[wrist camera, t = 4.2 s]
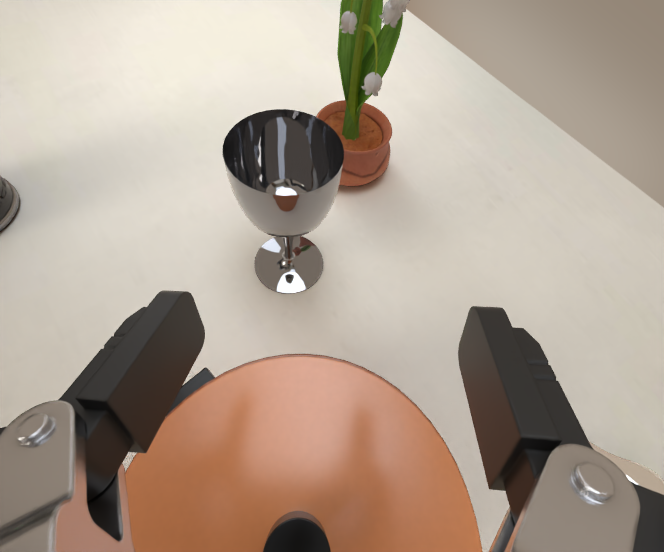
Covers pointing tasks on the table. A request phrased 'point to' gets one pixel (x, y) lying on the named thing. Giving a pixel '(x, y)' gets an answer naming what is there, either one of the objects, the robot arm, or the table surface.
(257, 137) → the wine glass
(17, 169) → the table surface
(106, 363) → the robot arm
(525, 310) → the table surface
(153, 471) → the copper pot
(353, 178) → the potted flower
